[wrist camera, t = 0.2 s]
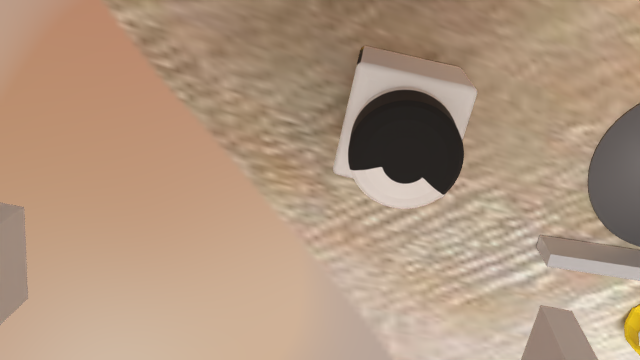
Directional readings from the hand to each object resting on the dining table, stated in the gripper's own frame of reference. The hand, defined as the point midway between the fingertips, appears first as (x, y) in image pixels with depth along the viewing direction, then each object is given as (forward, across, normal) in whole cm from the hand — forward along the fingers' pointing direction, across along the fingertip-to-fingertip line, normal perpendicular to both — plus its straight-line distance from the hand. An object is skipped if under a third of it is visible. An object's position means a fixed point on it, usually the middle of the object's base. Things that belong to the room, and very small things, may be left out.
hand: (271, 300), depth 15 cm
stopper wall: (+28, +25, -9) cm, 38 cm away
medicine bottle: (+28, +4, -1) cm, 28 cm away
